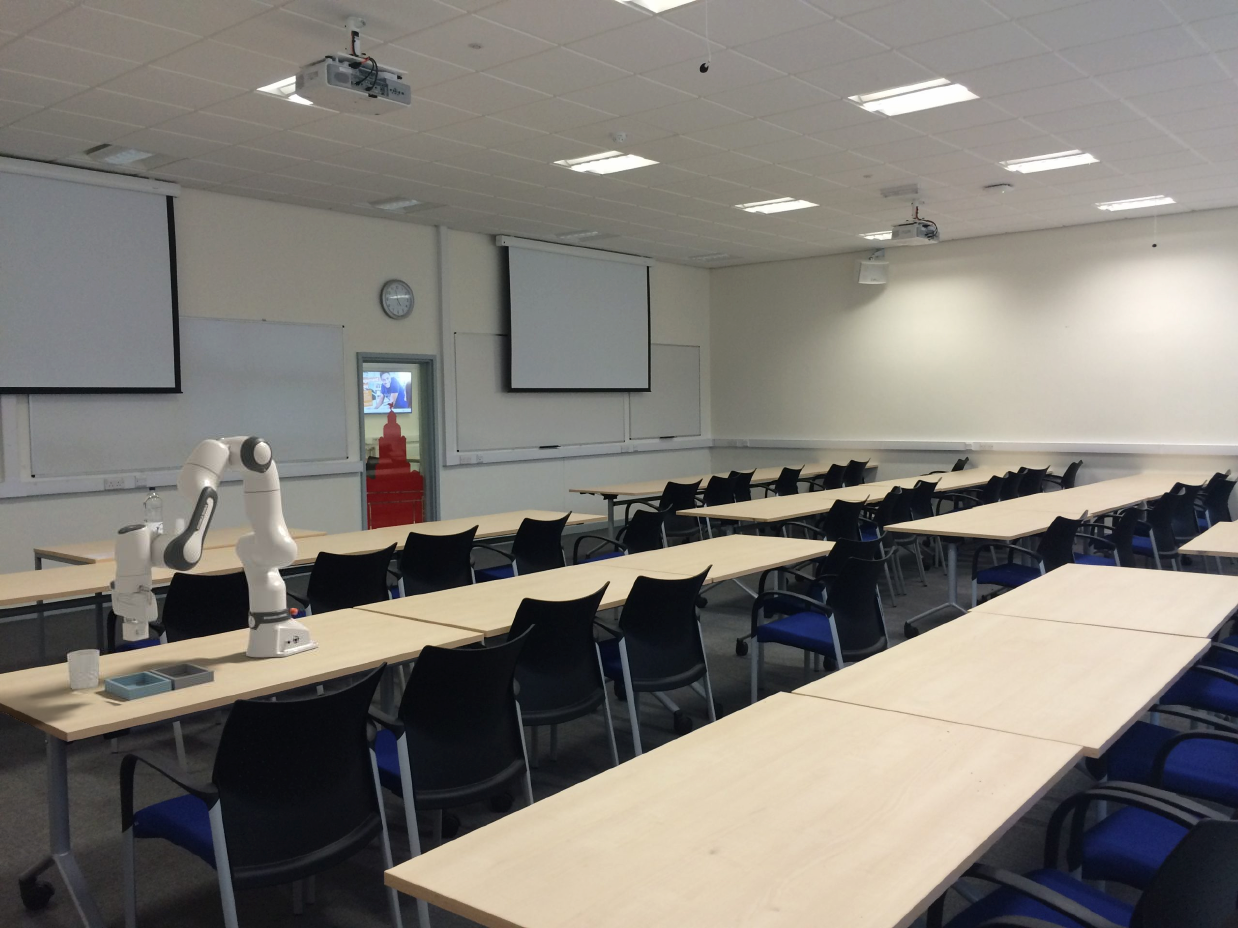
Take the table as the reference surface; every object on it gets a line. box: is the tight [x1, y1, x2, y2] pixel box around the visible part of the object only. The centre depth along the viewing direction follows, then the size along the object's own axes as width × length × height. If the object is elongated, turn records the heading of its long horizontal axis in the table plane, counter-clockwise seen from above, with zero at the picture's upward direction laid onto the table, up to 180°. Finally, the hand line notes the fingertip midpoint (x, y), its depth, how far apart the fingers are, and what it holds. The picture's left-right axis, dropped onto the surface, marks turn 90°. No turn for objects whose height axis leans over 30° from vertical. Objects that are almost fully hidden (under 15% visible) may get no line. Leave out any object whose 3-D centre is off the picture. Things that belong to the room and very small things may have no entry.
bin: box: [104, 670, 173, 702], centre depth 253 cm, size 11×16×4 cm
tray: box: [148, 662, 215, 691], centre depth 262 cm, size 11×16×4 cm
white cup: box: [66, 648, 100, 690], centre depth 259 cm, size 8×8×10 cm
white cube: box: [122, 620, 150, 642], centre depth 252 cm, size 4×4×4 cm
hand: (135, 633), depth 252 cm, fingers closed on white cube, 5 cm apart
